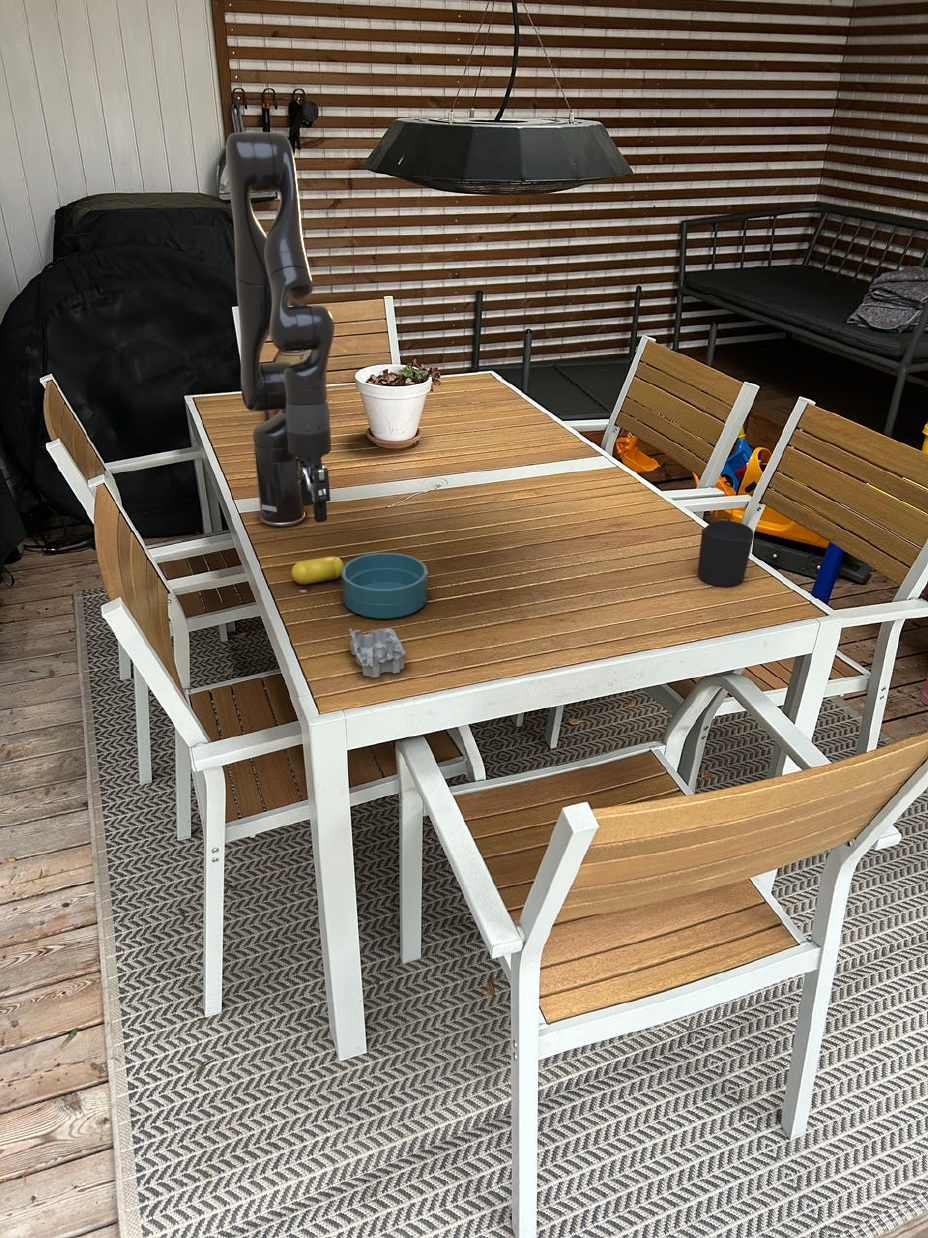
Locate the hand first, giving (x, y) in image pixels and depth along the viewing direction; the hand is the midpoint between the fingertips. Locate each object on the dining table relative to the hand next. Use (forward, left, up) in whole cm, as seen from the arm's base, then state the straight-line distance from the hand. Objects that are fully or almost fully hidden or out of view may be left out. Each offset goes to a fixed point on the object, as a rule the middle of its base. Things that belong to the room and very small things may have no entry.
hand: (314, 512), depth 172 cm
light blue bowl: (+12, +9, -14) cm, 21 cm away
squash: (0, 0, -14) cm, 14 cm away
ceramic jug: (-104, +24, -14) cm, 107 cm away
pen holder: (+27, +72, -14) cm, 78 cm away
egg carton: (+31, +1, -14) cm, 34 cm away
